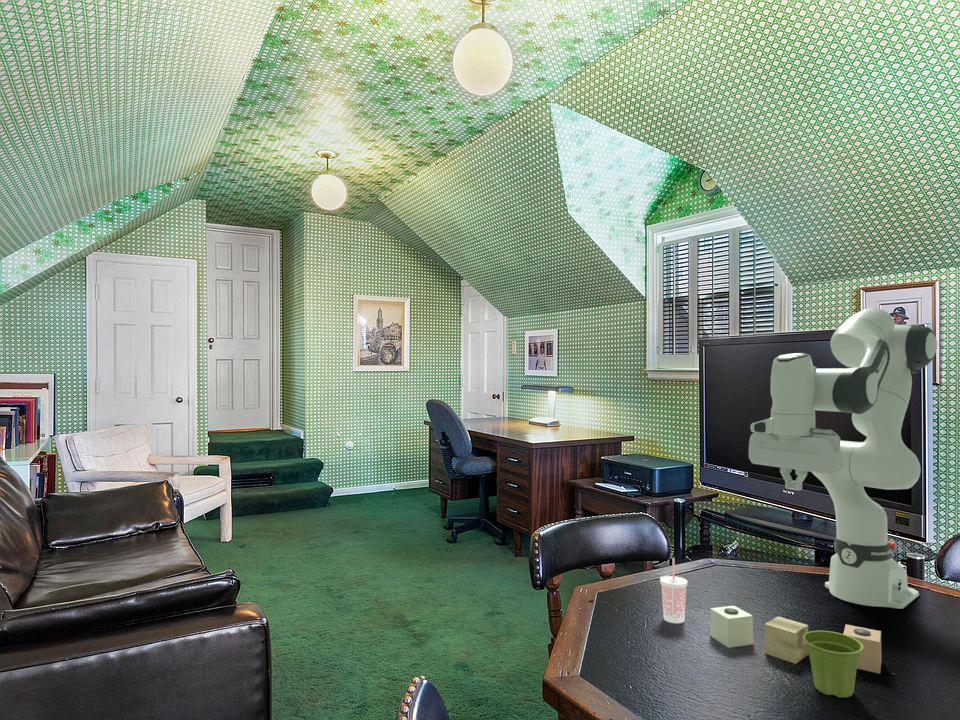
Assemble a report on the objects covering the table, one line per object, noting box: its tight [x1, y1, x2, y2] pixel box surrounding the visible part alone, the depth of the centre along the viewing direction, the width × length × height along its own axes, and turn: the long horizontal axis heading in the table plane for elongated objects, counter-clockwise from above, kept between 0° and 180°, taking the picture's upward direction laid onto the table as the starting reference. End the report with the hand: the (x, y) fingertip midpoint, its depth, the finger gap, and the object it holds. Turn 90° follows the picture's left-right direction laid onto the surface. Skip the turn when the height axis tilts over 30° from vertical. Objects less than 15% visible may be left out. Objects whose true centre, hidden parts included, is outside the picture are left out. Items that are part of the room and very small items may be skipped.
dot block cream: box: [709, 605, 754, 649], centre depth 133 cm, size 6×6×6 cm
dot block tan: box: [842, 624, 882, 675], centre depth 123 cm, size 6×6×6 cm
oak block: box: [764, 616, 809, 665], centre depth 127 cm, size 6×6×6 cm
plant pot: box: [803, 630, 863, 699], centre depth 112 cm, size 9×9×9 cm
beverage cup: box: [659, 557, 689, 624], centre depth 144 cm, size 6×6×14 cm
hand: (793, 489), depth 138 cm, fingers closed
